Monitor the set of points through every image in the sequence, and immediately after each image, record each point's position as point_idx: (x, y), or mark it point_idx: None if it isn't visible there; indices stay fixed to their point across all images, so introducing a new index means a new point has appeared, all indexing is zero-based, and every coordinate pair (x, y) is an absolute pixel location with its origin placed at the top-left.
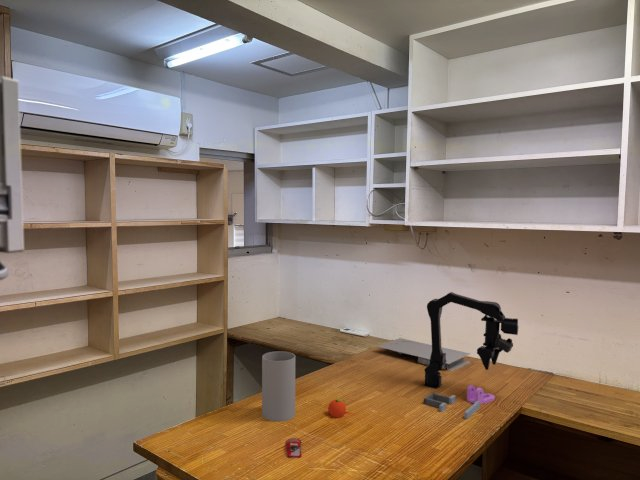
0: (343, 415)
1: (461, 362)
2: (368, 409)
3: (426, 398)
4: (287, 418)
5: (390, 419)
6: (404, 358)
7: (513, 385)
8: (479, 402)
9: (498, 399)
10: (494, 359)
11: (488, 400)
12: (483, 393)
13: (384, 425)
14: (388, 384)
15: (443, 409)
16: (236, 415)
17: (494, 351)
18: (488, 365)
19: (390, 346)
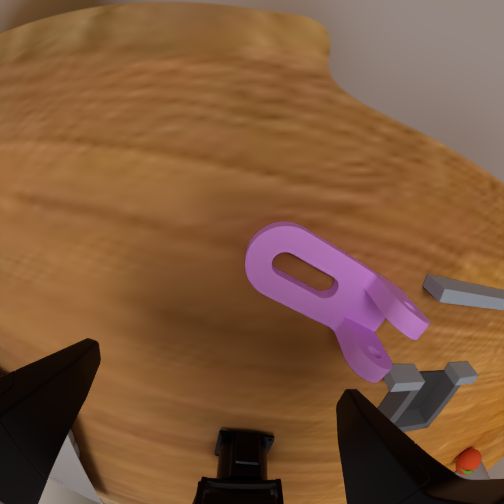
0: (471, 450)
1: None
2: (438, 452)
3: (427, 424)
4: (482, 464)
5: (480, 412)
6: (82, 465)
7: (30, 164)
8: (446, 287)
9: (271, 200)
10: (68, 390)
11: (340, 251)
12: (394, 294)
13: (497, 405)
14: (287, 488)
15: (466, 367)
16: None
17: (10, 468)
18: (393, 424)
19: (79, 490)
